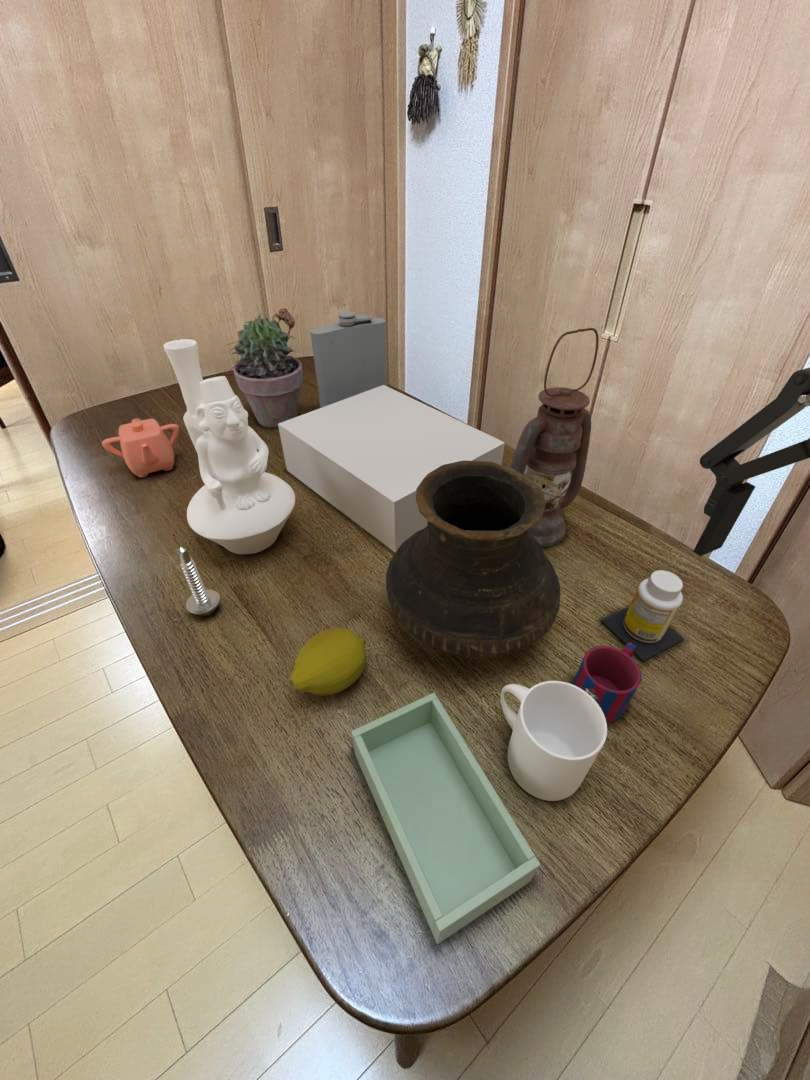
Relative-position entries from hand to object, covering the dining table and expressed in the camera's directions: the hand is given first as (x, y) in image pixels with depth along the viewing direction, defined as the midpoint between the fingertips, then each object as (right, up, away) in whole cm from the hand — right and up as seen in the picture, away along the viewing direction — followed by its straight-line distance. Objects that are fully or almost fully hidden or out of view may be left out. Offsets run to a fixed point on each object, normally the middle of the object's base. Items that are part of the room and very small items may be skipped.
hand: (782, 601), depth 38 cm
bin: (-27, -25, +14) cm, 39 cm away
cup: (-4, -15, +25) cm, 30 cm away
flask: (-42, +35, +82) cm, 99 cm away
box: (-33, +17, +62) cm, 72 cm away
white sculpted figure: (-58, +6, +50) cm, 77 cm away
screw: (-60, -6, +36) cm, 70 cm away
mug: (-15, -20, +19) cm, 32 cm away
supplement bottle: (+5, -8, +32) cm, 34 cm away
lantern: (-6, +7, +50) cm, 51 cm away
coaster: (+5, -8, +32) cm, 34 cm away
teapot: (-84, +21, +66) cm, 109 cm away
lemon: (-39, -14, +27) cm, 50 cm away
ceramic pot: (-20, -7, +35) cm, 41 cm away
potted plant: (-62, +35, +82) cm, 109 cm away
